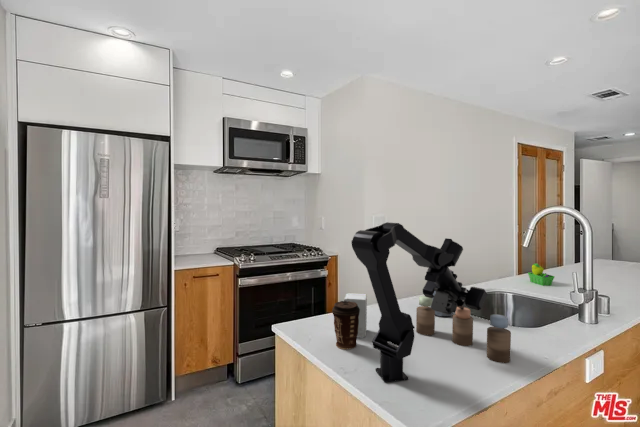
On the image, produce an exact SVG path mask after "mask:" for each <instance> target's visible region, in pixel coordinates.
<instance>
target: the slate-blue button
mask: <svg viewBox="0 0 640 427" xmlns="http://www.w3.org/2000/svg"><path fill="white" fill-rule="evenodd" d="M490 327H497V328H505V329H507V328H508V327H509V318H508V317H507V316H506V315H503V314H497V313H496V314H490Z"/></svg>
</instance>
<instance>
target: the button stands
mask: <svg viewBox="0 0 640 427" xmlns="http://www.w3.org/2000/svg"><path fill="white" fill-rule="evenodd" d="M415 315H416V316H415V317H416V320H415V323H416V324H415V326H416V327H415V329H416V330H415V332H416V333H417V334H419V335H422V336H434V335H435V332H436V331H435V329H436V325H435V324H436V321H435V320H436V315H435V310H433V309H432V308H431V307H425V306H421V305H419V306H416V314H415ZM451 331H452V333H451V335H452V337H451V339H452V340H451V341H452V343H454V344H455V345H458V346H462V347H470V346H471V347H472V345H473V344H474V343H473V341H474V317H473V316H471V315H470V318H469V319H461V318H458V317H456V316H455V314H453V315H452V330H451ZM511 332H512V331H511V330H509V329H507V328H497V327H494V326H489V327H487V328H486V358H487V359H489V360H490V361H492V362H495V363H500V364H509V363H510V362H511V352H512V351H511V343H512V342H511V341H512V340H511V338H512V333H511Z"/></svg>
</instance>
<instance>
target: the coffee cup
mask: <svg viewBox="0 0 640 427" xmlns="http://www.w3.org/2000/svg"><path fill="white" fill-rule="evenodd" d="M333 305H334V306H333V307H332V309H331V312H332V315H333V325H334V326H333V327H334V333H335V337H336V342H335V346H336V347H337V348H338V349H340V350H344V351H345V350H346V351H347V350H353V349H355V348H356V347H357V339H358V337H357V335H358V325H359V318H358V317H359V313H360V309H359V307H358V304H357V303H355V302H350V301H348V302H347V301H344V300H340V301H338V302H336V303H335V302H334V304H333Z"/></svg>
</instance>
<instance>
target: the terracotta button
mask: <svg viewBox="0 0 640 427" xmlns="http://www.w3.org/2000/svg"><path fill="white" fill-rule="evenodd" d="M454 315H455V316H456V317H458V318H461V319H469V318H470V316H471V308H469V307H464V309H463V310H462V309H460V308H458V307H457V308H456V312H455V313H454Z"/></svg>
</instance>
